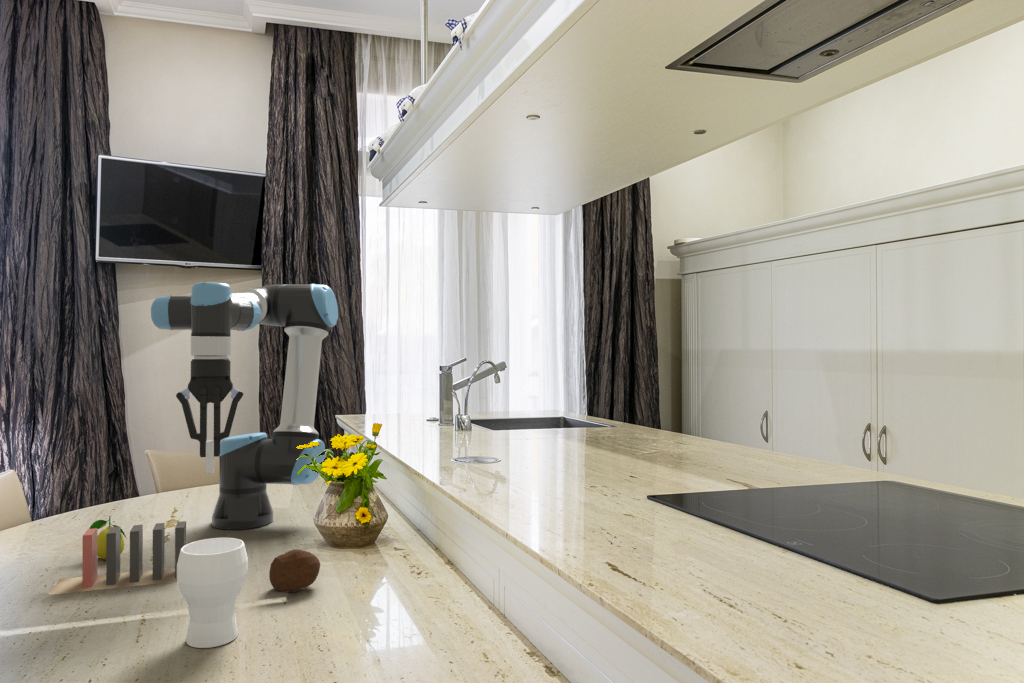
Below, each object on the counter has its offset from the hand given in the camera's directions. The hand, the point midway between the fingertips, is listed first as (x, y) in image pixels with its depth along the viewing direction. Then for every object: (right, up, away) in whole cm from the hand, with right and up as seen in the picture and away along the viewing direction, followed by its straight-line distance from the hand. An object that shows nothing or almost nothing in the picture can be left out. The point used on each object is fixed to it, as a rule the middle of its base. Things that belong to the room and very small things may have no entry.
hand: (209, 472), depth 143 cm
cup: (+13, -22, -30) cm, 39 cm away
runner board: (-14, -21, -5) cm, 25 cm away
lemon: (-25, -21, +8) cm, 34 cm away
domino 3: (-13, -20, -4) cm, 24 cm away
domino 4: (-9, -20, -3) cm, 22 cm away
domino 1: (-20, -20, -7) cm, 30 cm away
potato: (+20, -21, -8) cm, 30 cm away
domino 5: (-5, -20, -2) cm, 21 cm away
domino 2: (-16, -20, -6) cm, 27 cm away
